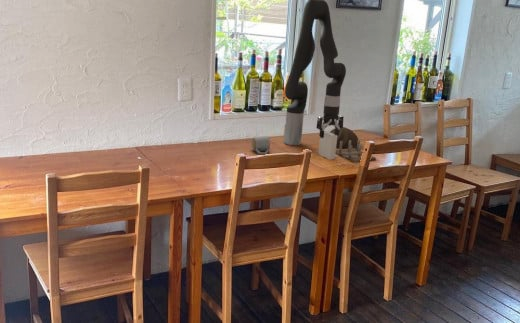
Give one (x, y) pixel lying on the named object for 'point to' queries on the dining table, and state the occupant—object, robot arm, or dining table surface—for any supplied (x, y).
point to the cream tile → (328, 145)
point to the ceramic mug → (261, 144)
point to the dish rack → (351, 152)
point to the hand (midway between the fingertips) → (328, 137)
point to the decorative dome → (346, 138)
